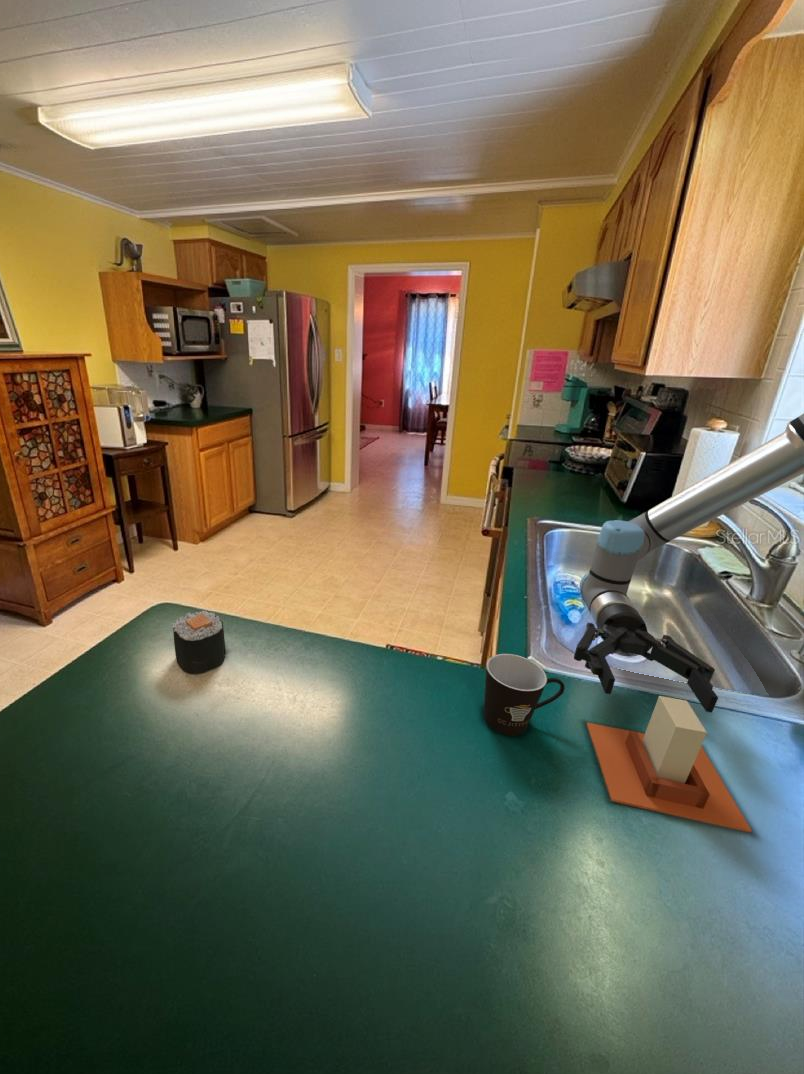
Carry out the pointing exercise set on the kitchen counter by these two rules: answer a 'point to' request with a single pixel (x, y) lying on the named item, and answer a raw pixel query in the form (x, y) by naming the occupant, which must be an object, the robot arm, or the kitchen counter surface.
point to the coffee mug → (514, 692)
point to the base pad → (662, 781)
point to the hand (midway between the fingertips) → (660, 695)
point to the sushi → (199, 642)
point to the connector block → (673, 739)
